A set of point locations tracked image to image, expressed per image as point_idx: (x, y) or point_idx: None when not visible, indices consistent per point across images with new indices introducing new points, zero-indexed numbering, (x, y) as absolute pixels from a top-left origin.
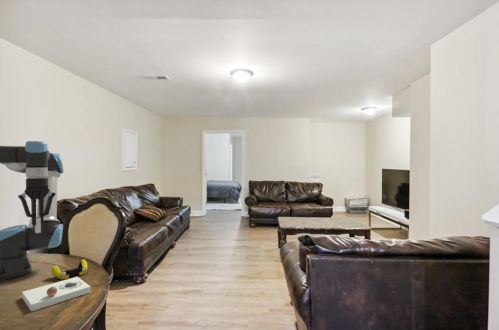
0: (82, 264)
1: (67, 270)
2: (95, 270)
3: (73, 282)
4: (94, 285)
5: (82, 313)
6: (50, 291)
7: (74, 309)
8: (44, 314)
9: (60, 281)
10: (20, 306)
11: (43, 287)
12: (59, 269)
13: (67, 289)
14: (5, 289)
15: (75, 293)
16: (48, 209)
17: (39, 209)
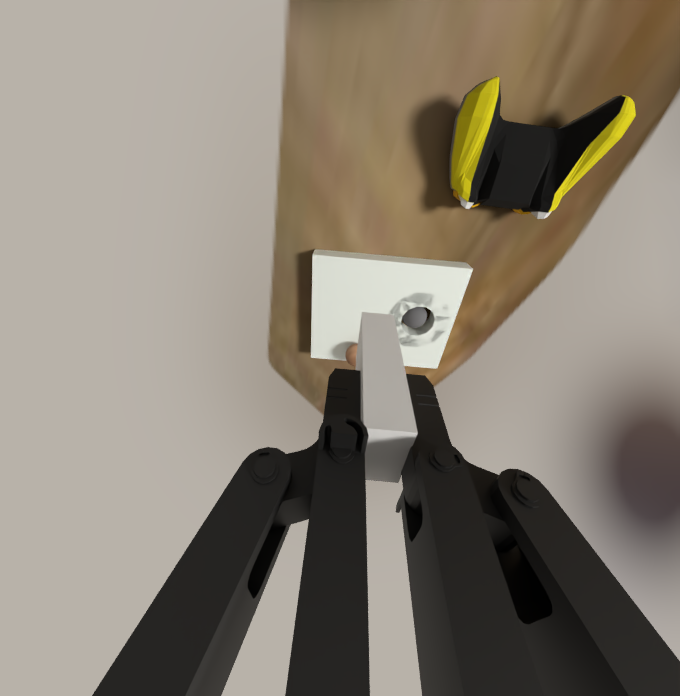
0: (578, 161)
1: (496, 176)
2: (588, 191)
3: (433, 309)
4: (468, 328)
5: None
6: (350, 364)
7: None
8: (327, 377)
9: (418, 265)
10: (301, 303)
11: (364, 273)
12: (482, 142)
13: None
14: (286, 81)
15: None
16: (536, 616)
17: (428, 606)
